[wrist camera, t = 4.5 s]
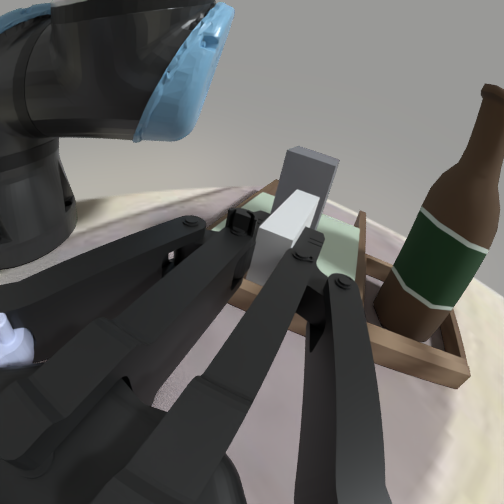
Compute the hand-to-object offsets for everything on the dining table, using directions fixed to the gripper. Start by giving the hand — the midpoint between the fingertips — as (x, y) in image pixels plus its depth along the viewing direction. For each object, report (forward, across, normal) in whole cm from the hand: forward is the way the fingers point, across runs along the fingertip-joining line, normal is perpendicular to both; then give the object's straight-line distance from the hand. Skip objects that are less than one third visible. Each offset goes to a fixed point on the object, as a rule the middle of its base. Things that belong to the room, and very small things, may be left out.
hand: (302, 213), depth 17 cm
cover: (+9, -1, -6) cm, 11 cm away
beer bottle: (+7, +13, -9) cm, 17 cm away
